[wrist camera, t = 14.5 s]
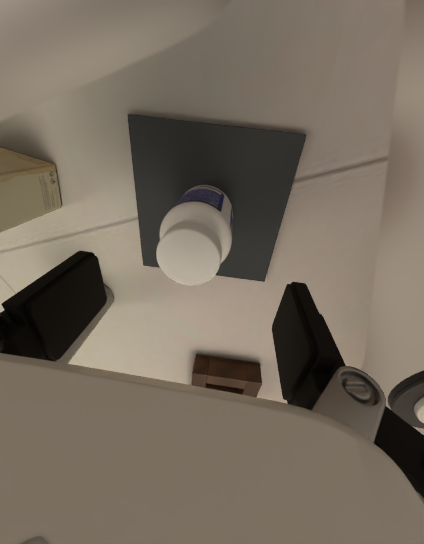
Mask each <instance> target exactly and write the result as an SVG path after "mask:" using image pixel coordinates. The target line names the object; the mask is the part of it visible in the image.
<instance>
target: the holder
mask: <svg viewBox="0 0 424 544" xmlns="http://www.w3.org/2000/svg"><path fill="white" fill-rule="evenodd" d="M261 385H262V378H261V368H260V364H259V363H252V362H245V361H238V360H231V359H225V358H218V357H211V356H210V357H209V356H204V355H197V354H196V357H195V362H194V368H193V373H192V386H197V387H203V388H208V389H214V390H220V391H225V392H231V393H236V394H241V395H246V396H251V397H257V394H258V392H259V390H260V387H261Z"/></svg>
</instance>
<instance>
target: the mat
mask: <svg viewBox="0 0 424 544" xmlns="http://www.w3.org/2000/svg"><path fill="white" fill-rule="evenodd" d="M128 123H129V133H130V143H131V152H132V162H133V171H134V181H135V190H136V200H137V210H138V219H139V229H140V238H141V248H142V257H143V265H145V266H152V267H160V266H159V264H158V262H157V256H156V251H157V246H158V244H159V242H160V227H161V224H162V221H163V219H164V218H165V216H166V215H167V213H168V212H169V211H170V210H171V209H172V207H173V206H174V205H175V204H176V203H177V202H178V200H179V199H180V198H181V197H182V196H183V195H184V194H185V193H186V192H187V191H188V190H189V189H191V188H193V187H196V186H199V185H209V186H213V187H216V188H218V189H219V190H221V191H222V192H223V193H224V194H225V195H226V196H227V197H228V199H229V201H230V203H231V205H232V209H233V225H232V244H231V248H230V251H229V253H228V255H227V257H226V258H225V260H224V261H223V262H222V263H221V264H220V267H219V270H218V272H217V273H216V275H219V276H226V277H234V278H241V279H249V280H256V281H263V282H264V281H265V277H266V274H267V270H268V267H269V263H270V260H271V256H272V253H273V249H274V246H275V242H276V239H277V236H278V232H279V229H280V225H281V222H282V218H283V215H284V211H285V208H286V204H287V201H288V197H289V194H290V190H291V187H292V184H293V180H294V177H295V173H296V170H297V166H298V163H299V159H300V156H301V152H302V149H303V145H304V142H305V138H306V134H301V133H292V132H283V131H274V130H265V129H256V128H247V127H238V126H229V125H220V124H211V123H202V122H193V121H184V120H175V119H166V118H157V117H148V116H139V115H130V114H128Z"/></svg>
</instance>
